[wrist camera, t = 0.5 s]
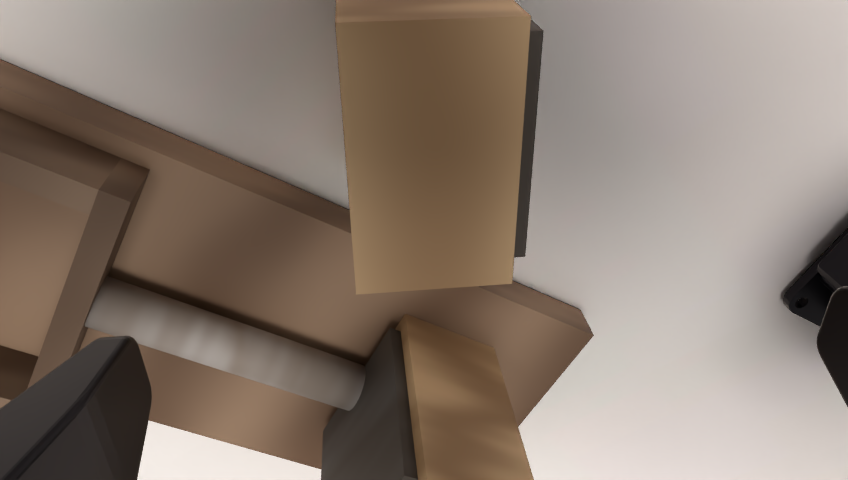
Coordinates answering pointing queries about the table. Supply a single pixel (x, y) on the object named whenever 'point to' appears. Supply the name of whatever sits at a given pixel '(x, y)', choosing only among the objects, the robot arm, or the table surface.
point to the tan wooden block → (437, 139)
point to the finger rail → (253, 304)
